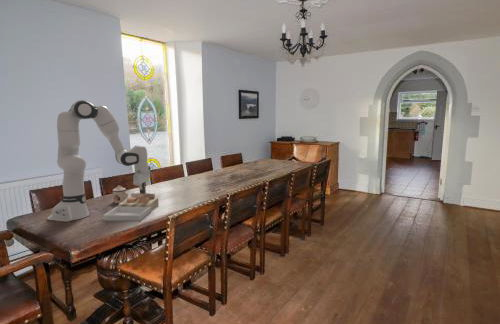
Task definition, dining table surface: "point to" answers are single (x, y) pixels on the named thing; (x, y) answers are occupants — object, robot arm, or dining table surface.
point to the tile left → (132, 199)
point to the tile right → (144, 199)
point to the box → (127, 213)
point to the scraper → (143, 193)
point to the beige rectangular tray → (141, 203)
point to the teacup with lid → (119, 194)
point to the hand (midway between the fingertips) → (142, 188)
